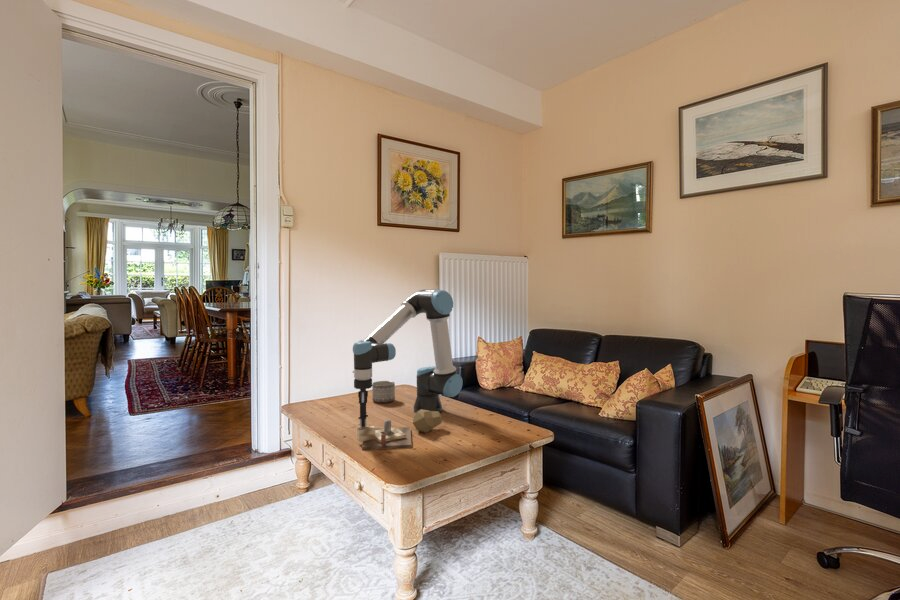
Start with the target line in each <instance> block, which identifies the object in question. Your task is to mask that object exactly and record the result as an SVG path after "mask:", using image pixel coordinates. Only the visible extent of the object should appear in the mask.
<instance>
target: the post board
mask: <svg viewBox="0 0 900 600" xmlns="http://www.w3.org/2000/svg"><path fill="white" fill-rule="evenodd" d="M383 424H384V425H383V427H382V428H379V427H378V428H377V427H376V428H375V430H380V429H384V434H381V442H380V443H379V442H378V441H377V440H376V439H373V440H368V441H363V442H362V446H361V450H363V451H364V450H365V451H366V450H367V451H369V450H385V449H386V450H389V449H410V448H412V435H411V433H412V432H411V426H409V427H407V426H406V427H403V426H402V427H396V428H397V429H399V430H400V431H402V432H403V433H404V434H406V438H401V439H396V440H391V441H386V435H391V427H392V419H385V420H384V421H383Z"/></svg>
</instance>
